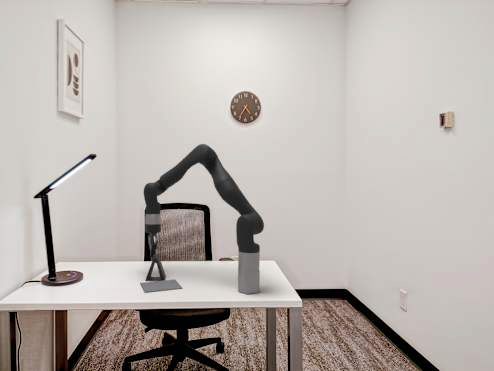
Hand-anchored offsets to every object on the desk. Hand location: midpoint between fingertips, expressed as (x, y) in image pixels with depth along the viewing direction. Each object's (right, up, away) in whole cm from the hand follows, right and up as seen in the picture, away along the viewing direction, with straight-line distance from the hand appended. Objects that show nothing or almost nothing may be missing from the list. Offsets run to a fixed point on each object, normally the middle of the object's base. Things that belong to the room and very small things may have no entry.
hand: (152, 257), depth 184 cm
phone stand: (+4, -9, -8) cm, 13 cm away
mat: (+8, -9, -19) cm, 23 cm away
